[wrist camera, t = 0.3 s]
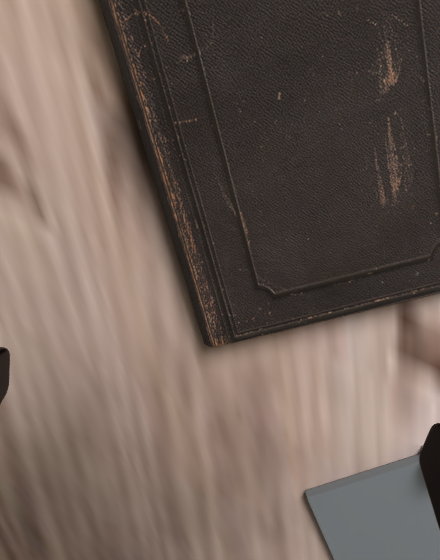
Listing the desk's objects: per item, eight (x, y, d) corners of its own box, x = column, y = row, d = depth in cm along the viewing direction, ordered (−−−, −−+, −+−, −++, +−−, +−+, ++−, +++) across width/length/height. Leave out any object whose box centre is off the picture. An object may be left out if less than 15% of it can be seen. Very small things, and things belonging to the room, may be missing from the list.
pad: (358, 613, 31) (361, 621, 30) (305, 490, 27) (306, 497, 27) (466, 582, 30) (471, 591, 29) (424, 452, 27) (428, 459, 26)
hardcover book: (428, -255, 17) (458, -315, 15) (477, 266, 24) (503, 278, 21) (66, -127, 19) (44, -165, 16) (205, 332, 25) (203, 350, 23)
